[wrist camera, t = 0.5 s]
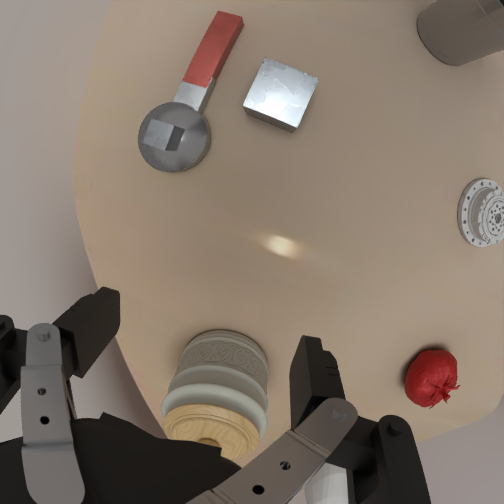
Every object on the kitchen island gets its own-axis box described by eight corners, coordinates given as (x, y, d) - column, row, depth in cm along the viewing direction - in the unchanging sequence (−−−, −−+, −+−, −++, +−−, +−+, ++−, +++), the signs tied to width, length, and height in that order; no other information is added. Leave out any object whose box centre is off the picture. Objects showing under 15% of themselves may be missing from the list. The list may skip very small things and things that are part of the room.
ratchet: (196, 180, 35) (179, 185, 28) (139, 158, 34) (112, 159, 27) (262, 31, 29) (261, 6, 22) (203, 15, 28) (190, -10, 21)
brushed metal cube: (265, 73, 30) (265, 57, 24) (310, 92, 31) (318, 79, 25) (247, 114, 32) (242, 105, 26) (292, 132, 32) (297, 127, 27)
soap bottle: (300, 401, 44) (312, 550, 19) (346, 401, 44) (378, 541, 19) (286, 447, 49) (288, 568, 23) (326, 447, 49) (340, 563, 23)
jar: (239, 403, 45) (227, 492, 29) (169, 367, 44) (133, 453, 27) (286, 355, 42) (292, 454, 25) (208, 311, 40) (174, 404, 23)
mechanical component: (473, 164, 32) (445, 224, 35) (491, 167, 27) (462, 232, 30) (508, 200, 33) (483, 255, 36) (526, 206, 28) (499, 265, 31)
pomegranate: (389, 384, 43) (404, 423, 34) (418, 337, 40) (441, 374, 31) (430, 388, 43) (447, 423, 35) (458, 345, 40) (482, 378, 31)
